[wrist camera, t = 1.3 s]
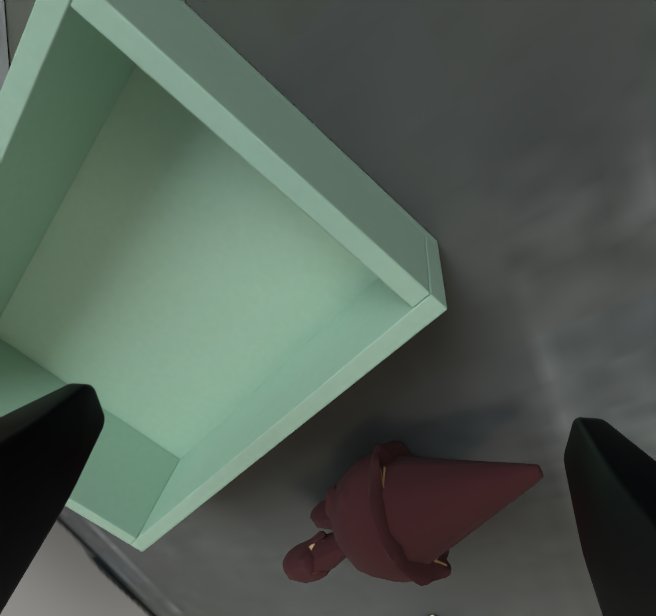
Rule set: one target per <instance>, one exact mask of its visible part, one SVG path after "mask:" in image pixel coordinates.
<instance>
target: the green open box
mask: <svg viewBox="0 0 656 616" xmlns="http://www.w3.org/2000/svg"><path fill="white" fill-rule="evenodd" d="M446 310H447V304H446V297H445V290H444V284H443V277H442V270H441V263H440V257H439V250H438V244H437V240H436V239H435V238H433V237H432V236H431V235H430V234H429V233H428V232H427V231H426V230H425V229H424V228H423V227H422V226H421V225H420V224H419V223H418V222H417V221H415V220H414V219H413V218H412V217H411V216H410V215H409V214H408V213H407V212H406V211H405V210H404V209H403V208H402V207H401V206H400V205H398V204H397V203H396V202H395V201H394V200H393V199H392V198H391V197H390V196H389V195H388V194H387V193H386V192H385V191H384V190H383V189H382V188H380V187H379V186H378V185H377V184H376V183H375V182H374V181H373V180H372V179H371V178H370V177H369V176H368V175H367V174H366V173H365V172H364V171H362V170H361V169H360V168H359V167H358V166H357V165H356V164H355V163H354V162H353V161H352V160H351V159H350V158H349V157H348V156H347V155H345V154H344V153H343V152H342V151H341V150H340V149H339V148H338V147H337V146H336V145H335V144H334V143H333V142H332V141H331V140H330V139H329V138H327V137H326V136H325V135H324V134H323V133H322V132H321V131H320V130H319V129H318V128H317V127H316V126H315V125H314V124H313V123H312V122H311V121H309V120H308V119H307V118H306V117H305V116H304V115H303V114H302V113H301V112H300V111H299V110H298V109H297V108H296V107H295V106H294V105H292V104H291V103H290V102H289V101H288V100H287V99H286V98H285V97H284V96H283V95H282V94H281V93H280V92H279V91H278V90H277V89H276V88H274V87H273V86H272V85H271V84H270V83H269V82H268V81H267V80H266V79H265V78H264V77H263V76H262V75H261V74H260V73H259V72H258V71H256V70H255V69H254V68H253V67H252V66H251V65H250V64H249V63H248V62H247V61H246V60H245V59H244V58H243V57H242V56H241V55H239V54H238V53H237V52H236V51H235V50H234V49H233V48H232V47H231V46H230V45H229V44H228V43H227V42H226V41H225V40H224V39H223V38H221V37H220V36H219V35H218V34H217V33H216V32H215V31H214V30H213V29H212V28H211V27H210V26H209V25H208V24H207V23H206V22H204V21H203V20H202V19H201V18H200V17H199V16H198V15H197V14H196V13H195V12H194V11H193V10H192V9H191V8H190V7H189V6H188V5H186V4H185V3H184V2H183V1H182V0H36V2H35V4H34V7H33V9H32V12H31V15H30V17H29V20H28V22H27V25H26V27H25V30H24V32H23V35H22V38H21V40H20V43H19V45H18V48H17V50H16V53H15V56H14V58H13V61H12V63H11V66H10V68H9V71H8V73H7V76H6V79H5V81H4V84H3V86H2V89H1V91H0V417H2V416H4V415H6V414H8V413H10V412H12V411H14V410H16V409H18V408H20V407H22V406H24V405H26V404H28V403H30V402H32V401H35V400H37V399H39V398H41V397H43V396H45V395H47V394H49V393H51V392H53V391H55V390H57V389H59V388H61V387H63V386H65V385H68V384H71V383H80V384H89V385H92V386H93V387H94V389H95V390H96V393H97V396H98V399H99V401H100V404H101V407H102V409H103V412H104V415H105V422H104V427H103V429H102V431H101V433H100V435H99V438H98V440H97V442H96V444H95V446H94V448H93V450H92V452H91V454H90V456H89V459H88V461H87V463H86V465H85V467H84V469H83V471H82V473H81V475H80V477H79V480H78V482H77V484H76V486H75V488H74V490H73V492H72V494H71V496H70V498H69V499H68V501H67V503H66V505H65V506H67V507H68V508H70V509H72V510H73V511H75V512H77V513H78V514H80V515H82V516H83V517H85V518H87V519H88V520H90V521H92V522H93V523H95V524H97V525H98V526H100V527H102V528H103V529H105V530H107V531H108V532H110V533H112V534H113V535H115V536H117V537H118V538H120V539H122V540H123V541H125V542H127V543H128V544H131V545H132V546H133V547H135V548H137V549H138V550H140V551H142V552H143V551H144V550H145V549H147V548H148V547H149V546H150V545H152V544H153V543H154V542H155V541H157V540H158V539H159V538H160V537H162V536H163V535H164V534H165V533H167V532H168V531H169V530H170V529H172V528H173V527H174V526H175V525H177V524H178V523H179V522H180V521H182V520H183V519H184V518H185V517H187V516H188V515H189V514H191V513H192V512H193V511H194V510H196V509H197V508H198V507H199V506H201V505H202V504H203V503H204V502H206V501H207V500H208V499H209V498H211V497H212V496H213V495H214V494H216V493H217V492H218V491H219V490H221V489H222V488H223V487H224V486H226V485H227V484H228V483H229V482H231V481H232V480H233V479H235V478H236V477H237V476H238V475H240V474H241V473H242V472H243V471H245V470H246V469H247V468H248V467H250V466H251V465H252V464H253V463H255V462H256V461H257V460H258V459H260V458H261V457H262V456H263V455H265V454H266V453H267V452H268V451H270V450H271V449H272V448H273V447H275V446H276V445H277V444H279V443H280V442H281V441H282V440H284V439H285V438H286V437H287V436H289V435H290V434H291V433H292V432H294V431H295V430H296V429H297V428H299V427H300V426H301V425H302V424H304V423H305V422H306V421H307V420H309V419H310V418H311V417H312V416H314V415H315V414H316V413H317V412H319V411H320V410H321V409H323V408H324V407H325V406H326V405H328V404H329V403H330V402H331V401H333V400H334V399H335V398H336V397H338V396H339V395H340V394H341V393H343V392H344V391H345V390H346V389H348V388H349V387H350V386H351V385H353V384H354V383H355V382H356V381H358V380H359V379H360V378H361V377H363V376H364V375H365V374H367V373H368V372H369V371H370V370H372V369H373V368H374V367H375V366H377V365H378V364H379V363H380V362H382V361H383V360H384V359H385V358H387V357H388V356H389V355H390V354H392V353H393V352H394V351H395V350H397V349H398V348H399V347H400V346H402V345H403V344H404V343H406V342H407V341H408V340H409V339H411V338H412V337H413V336H414V335H416V334H417V333H418V332H419V331H421V330H422V329H423V328H424V327H426V326H427V325H428V324H429V323H431V322H432V321H433V320H434V319H436V318H437V317H438V316H439V315H441V314H442V313H443V312H444V311H446Z"/></svg>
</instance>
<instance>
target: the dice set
mask: <svg viewBox="0 0 656 616" xmlns="http://www.w3.org/2000/svg"><path fill="white" fill-rule="evenodd" d="M8 71H9V62H8V48H7V35H6V22H5V9H4V0H0V91H1V89H2V86H3V84H4V81H5V79H6V76H7V73H8Z"/></svg>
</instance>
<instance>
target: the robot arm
mask: <svg viewBox="0 0 656 616" xmlns="http://www.w3.org/2000/svg"><path fill="white" fill-rule="evenodd" d="M104 422H105V415H104V412H103V409H102V407H101V404H100V401H99V399H98V396H97V393H96V390H95V389H94V387H93V386H92V385H89V384H80V383H71V384H68V385H65V386H63V387H61V388H59V389H57V390H55V391H53V392H51V393H49V394H47V395H45V396H43V397H41V398H39V399H37V400H35V401H32V402H30V403H28V404H26V405H24V406H22V407H20V408H18V409H16V410H14V411H12V412H10V413H8V414H6V415H4V416H2V417H0V614H1V612H2V610H3V609H4V607H5V605H6V604H7V602H8V600H9V599H10V597H11V595H12V594H13V592H14V590H15V589H16V587H17V585H18V583H19V582H20V580H21V578H22V577H23V575H24V573H25V572H26V570H27V568H28V567H29V565H30V563H31V562H32V560H33V558H34V557H35V555H36V553H37V552H38V550H39V548H40V547H41V545H42V543H43V541H44V540H45V538H46V537H47V535H48V533H49V532H50V530H51V528H52V527H53V525H54V523H55V522H56V520H57V518H58V517H59V515H60V513H61V512H62V510H63V508H64V506H65V505H66V503H67V501H68V499H69V498H70V496H71V494H72V492H73V490H74V488H75V486H76V484H77V482H78V480H79V477H80V475H81V473H82V471H83V469H84V467H85V465H86V463H87V461H88V459H89V456H90V454H91V452H92V450H93V448H94V446H95V444H96V442H97V440H98V438H99V435H100V433H101V431H102V429H103V427H104ZM564 464H565V470H566V475H567V479H568V484H569V489H570V494H571V499H572V504H573V509H574V514H575V518H576V523H577V528H578V533H579V538H580V542H581V547H582V551H583V555H584V558H585V562H586V565H587V568H588V571H589V574H590V578H591V581H592V584H593V587H594V590H595V593H596V596H597V599H598V602H599V605H600V608H601V611H602V614H603V616H656V461H655V460H653V459H652V458H651V457H650V456H648V455H647V454H646V453H645V452H643V451H642V450H641V449H640V448H638V447H637V446H636V445H635V444H633V443H632V442H631V441H630V440H628V439H627V438H626V437H625V436H623V435H622V434H621V433H620V432H618V431H617V430H616V429H615V428H613V427H612V426H611V425H610V424H608V423H607V422H606V421H604V420H602V419H597V418H582V417H579V418H577V419H575V420H574V422H573V424H572V428H571V431H570V435H569V438H568V442H567V445H566V449H565V453H564Z"/></svg>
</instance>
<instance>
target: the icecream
mask: <svg viewBox="0 0 656 616" xmlns="http://www.w3.org/2000/svg"><path fill="white" fill-rule="evenodd" d="M542 478H543V472H542V470H541V468H540V466H539V465H536V464H525V463H504V462H484V461H469V460H453V459H438V458H422V457H413V456H412V455H411V453H410V452H409V451H408V450H407V449H406V448H405V447H404V446H403V445H402V444H401V443H400V442H397V441H392V442H389V443H386V444H383V445H382V444H376V445H375V447H374V450H373V453H372V454H369V455H367V456H365V457H364V458H358V459H357V461H356V462H355V464H354V466H353V467H351V468H350V469H349V470H347V471H346V473H345V474H344V475H343V477H342V478H341V479H340V480H339V482H338V484H337V485H334V486H333V487H332V488H330V489H329V490H327V491H326V500H324V501H322V502H320V503H319V504H318V505H317V506H316V507H315V508H314V509H313V510H312V512H311V519H312V521H313V522H314V524H315V525H316V526H317V528H324V529H331V530H333V533H329V534H326V533H325V532H324V531H319V532H318V533H317V534H316V535H315V536H314V537H313V538H311V539H310V540H307V541H305V542H303V543H301V544H298V545H297V546H295V547H294V548H293V549H291V550H290V551H289V552H288V553H287V555H286V556H285V558H284V561H283V569H284V571H285V573H286V574H287V576H288V578H289V579H290V580H294V581H298V582H303V583H308V582H312V581H316V580H320V579H321V578H323V577H325V576H327V574H328V573H329V571H330V570H331V569H333V568H335V567H336V566H337V565H338V564H339V563H340V562H341V561H342V560H343V559H344V558H346V557H347V558H348V559H349V561H350V562H351V563H352V564H353V565H354V566H355V568H356V569H357V570H359V571H361V572H363V573H365V574H368V575H370V576H373V577H377V578H381V579H386V580H390V581H395V582H398V581H399V582H412V581H414V582H415V583H416V584H418V585H420V586H424V585H428V584H429V583H431V582H432V581H435V580H439V579H442V578H446V577H447V576H449V575H450V573H451V566H450V564H449V562H448V561H447V557H448V553H449V549H450V548H451V547H453V546H454V545H455V544H457V543H458V542H459V541H461V540H462V539H463V538H465V537H466V536H467V535H469V534H470V533H471V532H473V531H474V530H475V529H476V528H478V527H479V526H480V525H482V524H483V523H484V522H486V521H487V520H488V519H490V518H491V517H492V516H494V515H495V514H496V513H498V512H499V511H500V510H501V509H503V508H504V507H505V506H507V505H508V504H509V503H511V502H512V501H513V500H515V499H516V498H517V497H519V496H520V495H521V494H523V493H524V492H525V491H527V490H528V489H529V488H531V487H532V486H533V485H534V484H536V483H537V482H538V481H539V480H540V479H542Z"/></svg>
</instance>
